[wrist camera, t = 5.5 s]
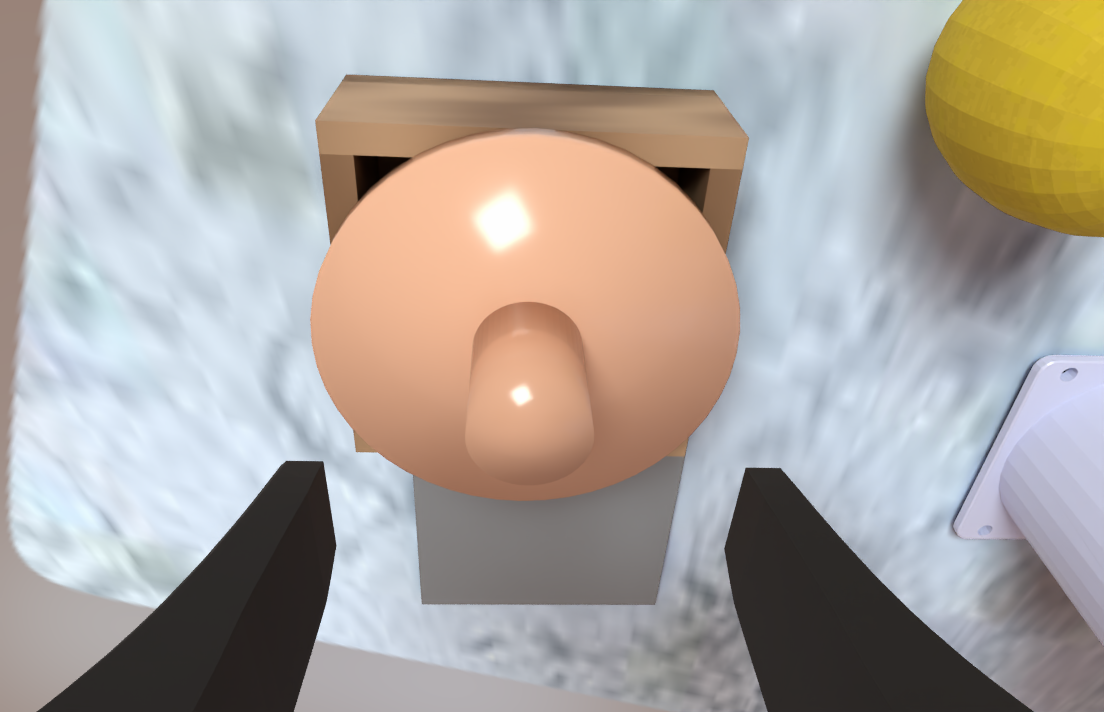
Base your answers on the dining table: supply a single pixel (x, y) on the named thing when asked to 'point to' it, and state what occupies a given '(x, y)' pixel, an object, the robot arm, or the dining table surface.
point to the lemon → (1024, 108)
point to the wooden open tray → (479, 106)
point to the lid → (525, 315)
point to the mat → (548, 543)
